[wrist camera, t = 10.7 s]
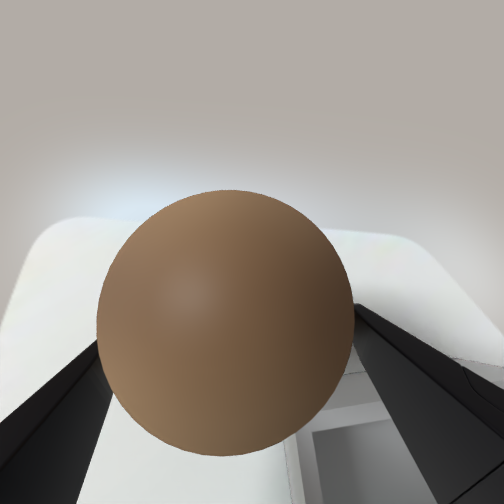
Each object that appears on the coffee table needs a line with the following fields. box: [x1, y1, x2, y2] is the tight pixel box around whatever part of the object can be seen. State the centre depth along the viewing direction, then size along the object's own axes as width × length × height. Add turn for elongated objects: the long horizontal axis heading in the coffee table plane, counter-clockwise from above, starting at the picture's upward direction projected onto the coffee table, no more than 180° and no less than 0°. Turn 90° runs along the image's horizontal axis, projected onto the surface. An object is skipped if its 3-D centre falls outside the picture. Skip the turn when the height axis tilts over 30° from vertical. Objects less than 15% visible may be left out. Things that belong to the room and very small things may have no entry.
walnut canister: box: [97, 190, 355, 456], centre depth 11 cm, size 5×5×13 cm
